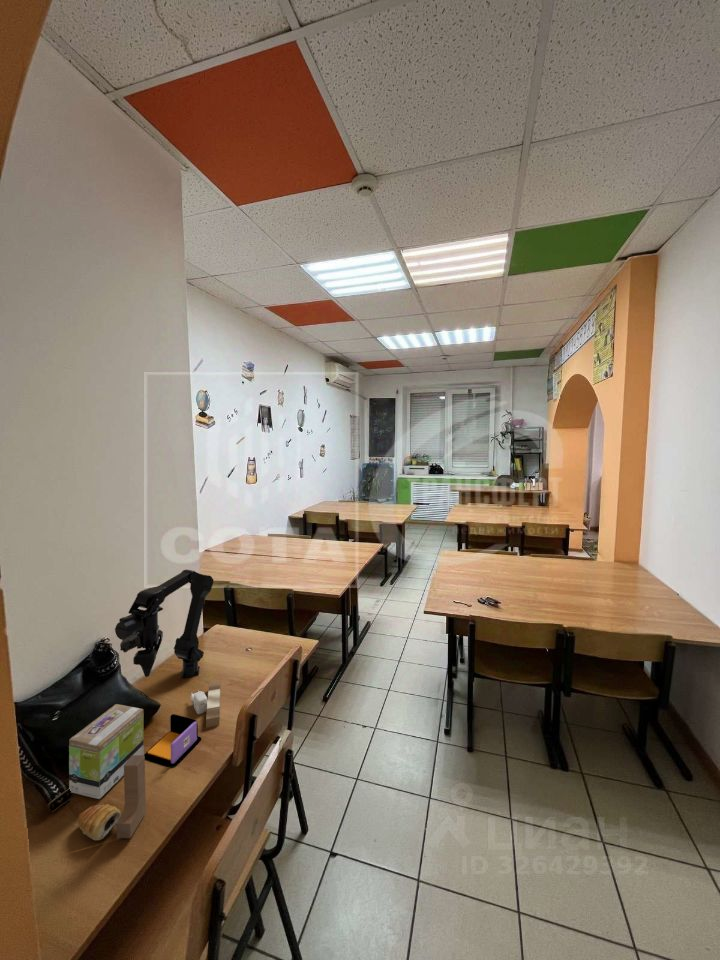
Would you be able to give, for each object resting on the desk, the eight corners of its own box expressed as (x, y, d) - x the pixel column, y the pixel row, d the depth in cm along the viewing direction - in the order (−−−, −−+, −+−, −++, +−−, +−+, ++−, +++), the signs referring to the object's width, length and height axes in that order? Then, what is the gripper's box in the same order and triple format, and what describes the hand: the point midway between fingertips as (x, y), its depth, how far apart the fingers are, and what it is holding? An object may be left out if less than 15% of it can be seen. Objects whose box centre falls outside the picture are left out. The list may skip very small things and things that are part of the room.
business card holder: (203, 739, 118) (203, 718, 118) (174, 769, 107) (173, 747, 106) (172, 730, 122) (171, 710, 121) (140, 759, 110) (140, 736, 110)
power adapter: (188, 701, 135) (187, 687, 135) (200, 696, 138) (200, 683, 138) (196, 716, 128) (196, 702, 127) (209, 711, 130) (209, 697, 130)
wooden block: (133, 811, 94) (131, 754, 93) (146, 811, 94) (145, 754, 93) (116, 838, 87) (114, 777, 86) (130, 838, 87) (128, 777, 86)
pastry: (68, 832, 88) (67, 817, 88) (96, 805, 95) (95, 791, 94) (99, 844, 86) (98, 829, 85) (125, 816, 92) (124, 802, 92)
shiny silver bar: (209, 691, 141) (208, 682, 141) (220, 689, 143) (220, 680, 142) (206, 728, 122) (206, 718, 122) (219, 725, 124) (219, 716, 124)
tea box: (100, 801, 97) (99, 746, 96) (68, 793, 99) (66, 739, 98) (145, 755, 111) (144, 707, 110) (116, 749, 113) (115, 702, 112)
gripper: (129, 618, 139) (130, 659, 140) (114, 642, 121) (116, 689, 123) (162, 614, 143) (163, 654, 144) (153, 637, 125) (154, 682, 126)
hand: (149, 669), depth 134 cm, fingers open, 9 cm apart
